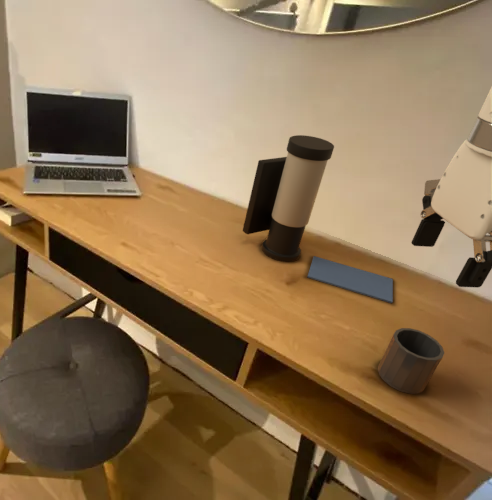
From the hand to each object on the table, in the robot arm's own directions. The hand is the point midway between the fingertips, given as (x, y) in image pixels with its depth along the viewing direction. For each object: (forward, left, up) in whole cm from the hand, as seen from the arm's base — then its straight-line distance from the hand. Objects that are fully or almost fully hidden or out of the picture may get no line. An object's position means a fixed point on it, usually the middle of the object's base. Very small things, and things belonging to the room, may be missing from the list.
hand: (443, 264), depth 63 cm
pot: (-2, +1, -21) cm, 21 cm away
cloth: (-6, -26, -21) cm, 34 cm away
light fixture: (+6, -37, -21) cm, 43 cm away
